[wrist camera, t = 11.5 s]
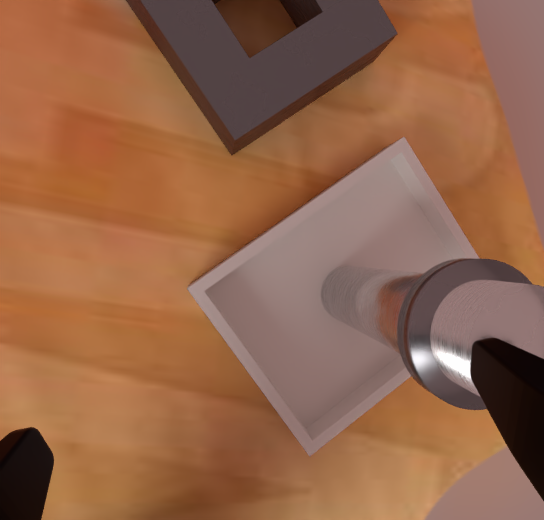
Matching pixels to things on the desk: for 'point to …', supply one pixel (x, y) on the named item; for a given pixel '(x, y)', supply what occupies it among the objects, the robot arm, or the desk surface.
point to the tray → (308, 283)
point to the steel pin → (440, 317)
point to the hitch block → (263, 59)
